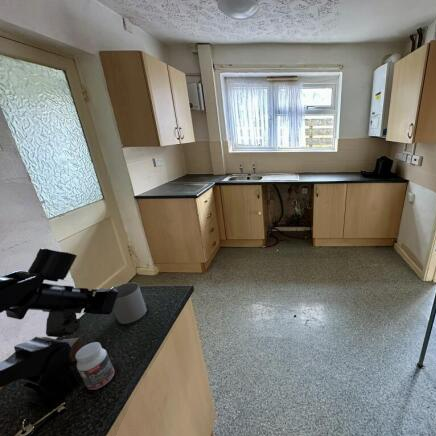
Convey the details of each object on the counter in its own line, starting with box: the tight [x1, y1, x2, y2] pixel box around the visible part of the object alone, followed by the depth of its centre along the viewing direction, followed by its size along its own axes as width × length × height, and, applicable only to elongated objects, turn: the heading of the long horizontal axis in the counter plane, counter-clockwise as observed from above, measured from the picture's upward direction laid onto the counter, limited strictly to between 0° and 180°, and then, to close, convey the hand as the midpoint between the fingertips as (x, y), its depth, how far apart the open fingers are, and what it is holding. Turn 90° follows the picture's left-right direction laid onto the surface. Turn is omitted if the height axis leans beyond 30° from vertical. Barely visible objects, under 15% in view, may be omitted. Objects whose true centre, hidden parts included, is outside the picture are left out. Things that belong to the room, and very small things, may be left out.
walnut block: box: [61, 337, 84, 364], centre depth 65 cm, size 4×4×4 cm
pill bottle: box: [75, 341, 115, 391], centre depth 58 cm, size 6×6×10 cm
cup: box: [112, 281, 148, 325], centre depth 79 cm, size 8×8×10 cm
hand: (106, 302), depth 69 cm, fingers closed
